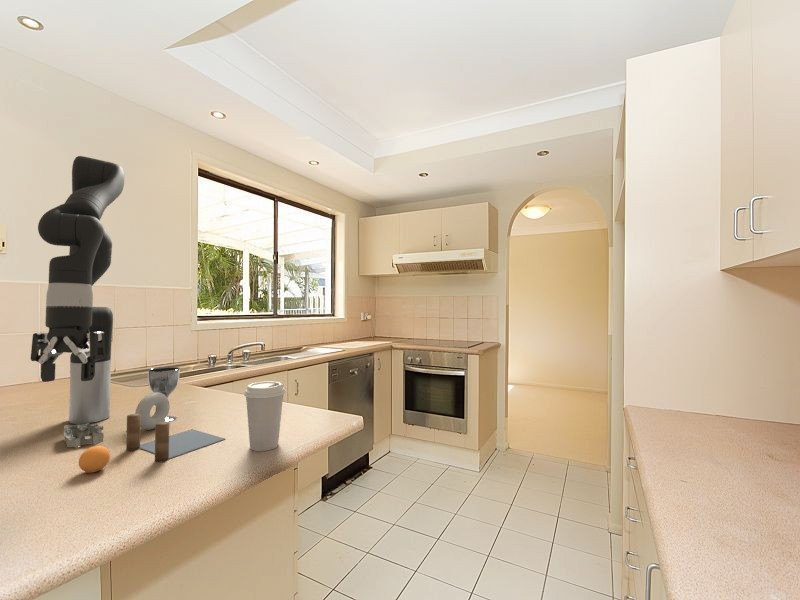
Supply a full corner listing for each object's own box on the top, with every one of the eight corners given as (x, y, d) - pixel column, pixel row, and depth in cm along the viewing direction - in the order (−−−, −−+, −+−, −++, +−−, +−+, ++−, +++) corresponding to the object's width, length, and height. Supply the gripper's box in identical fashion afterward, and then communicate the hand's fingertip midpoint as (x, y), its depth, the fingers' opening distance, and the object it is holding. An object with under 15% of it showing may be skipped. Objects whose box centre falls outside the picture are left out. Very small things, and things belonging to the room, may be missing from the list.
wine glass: (140, 421, 108) (141, 370, 108) (166, 414, 115) (167, 366, 115) (159, 425, 105) (160, 372, 105) (184, 417, 112) (185, 367, 112)
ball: (73, 473, 75) (74, 448, 75) (102, 464, 79) (103, 440, 80) (85, 479, 73) (85, 453, 73) (114, 469, 77) (115, 445, 77)
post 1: (124, 449, 87) (124, 415, 87) (136, 446, 90) (136, 412, 90) (129, 451, 86) (130, 417, 86) (142, 448, 88) (142, 414, 88)
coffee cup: (260, 457, 84) (261, 391, 84) (234, 448, 89) (235, 385, 89) (292, 444, 92) (293, 383, 92) (267, 436, 97) (268, 379, 97)
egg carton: (104, 444, 92) (104, 427, 92) (63, 451, 87) (64, 434, 87) (101, 432, 99) (101, 417, 99) (63, 439, 94) (63, 423, 94)
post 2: (152, 460, 81) (152, 424, 81) (164, 456, 84) (165, 421, 84) (158, 463, 80) (159, 426, 80) (171, 459, 82) (171, 423, 82)
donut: (142, 435, 97) (143, 397, 97) (131, 434, 97) (131, 396, 97) (172, 423, 106) (173, 388, 107) (162, 422, 107) (162, 388, 107)
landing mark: (135, 446, 89) (135, 445, 89) (192, 429, 101) (192, 429, 101) (168, 459, 82) (168, 458, 82) (225, 439, 95) (225, 438, 95)
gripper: (116, 305, 83) (114, 378, 83) (54, 306, 84) (52, 378, 83) (86, 304, 76) (84, 383, 75) (19, 305, 76) (16, 384, 76)
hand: (67, 381), depth 79 cm, fingers open, 8 cm apart
